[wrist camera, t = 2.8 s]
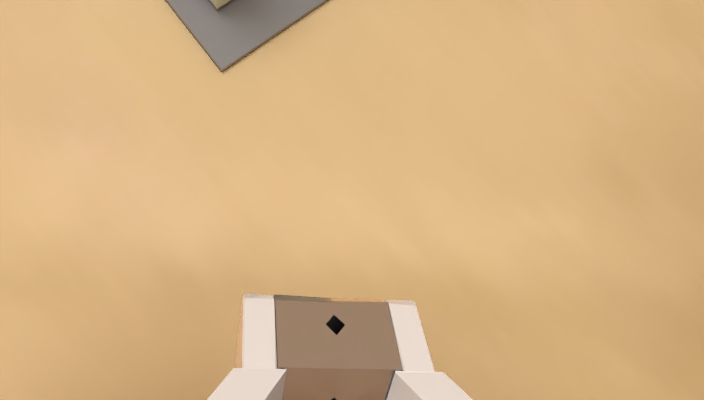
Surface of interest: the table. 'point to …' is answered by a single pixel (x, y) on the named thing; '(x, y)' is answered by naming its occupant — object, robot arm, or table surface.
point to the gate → (219, 3)
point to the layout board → (238, 24)
